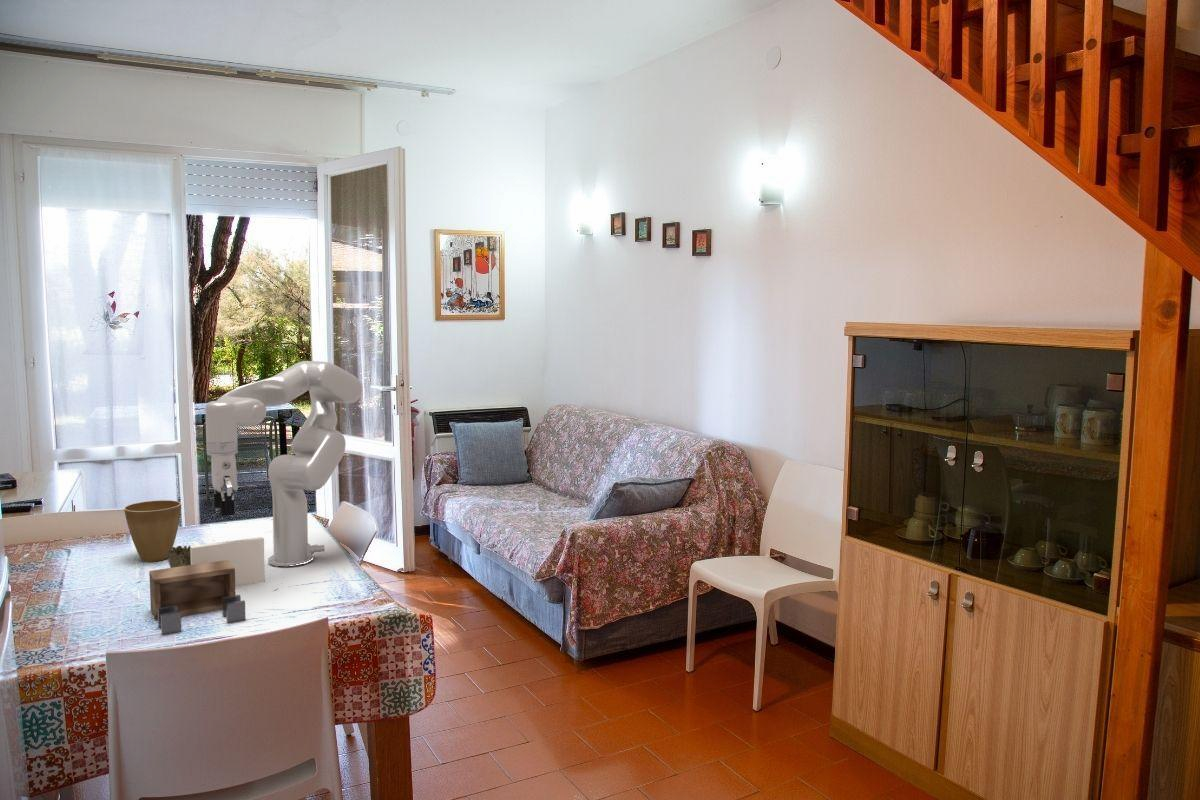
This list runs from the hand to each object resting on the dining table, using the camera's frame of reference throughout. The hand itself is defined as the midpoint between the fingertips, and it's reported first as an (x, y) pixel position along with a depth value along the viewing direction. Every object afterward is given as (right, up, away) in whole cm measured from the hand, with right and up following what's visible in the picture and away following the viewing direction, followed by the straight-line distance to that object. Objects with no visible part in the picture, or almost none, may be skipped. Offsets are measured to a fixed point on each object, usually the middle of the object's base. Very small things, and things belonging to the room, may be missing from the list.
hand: (224, 511), depth 228 cm
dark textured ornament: (-15, -19, +9) cm, 26 cm away
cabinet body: (-1, -22, -15) cm, 27 cm away
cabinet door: (0, -20, +2) cm, 21 cm away
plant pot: (-31, -17, +25) cm, 44 cm away
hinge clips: (+6, -23, -25) cm, 35 cm away
